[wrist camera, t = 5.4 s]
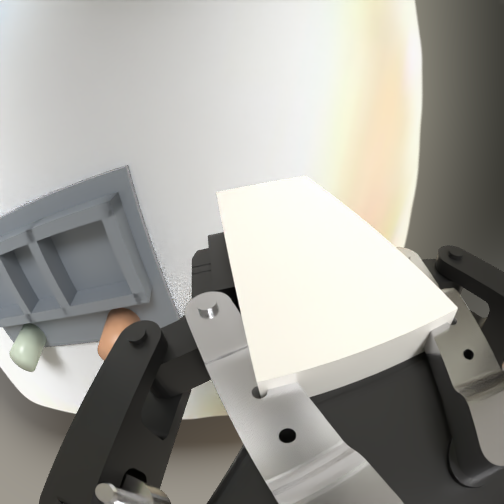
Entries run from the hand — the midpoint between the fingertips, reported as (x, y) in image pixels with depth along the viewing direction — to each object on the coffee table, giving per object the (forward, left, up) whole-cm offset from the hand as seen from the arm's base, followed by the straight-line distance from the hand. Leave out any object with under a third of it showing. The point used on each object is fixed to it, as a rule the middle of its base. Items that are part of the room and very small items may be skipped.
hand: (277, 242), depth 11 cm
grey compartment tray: (+4, -19, -9) cm, 21 cm away
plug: (0, 0, -2) cm, 2 cm away
